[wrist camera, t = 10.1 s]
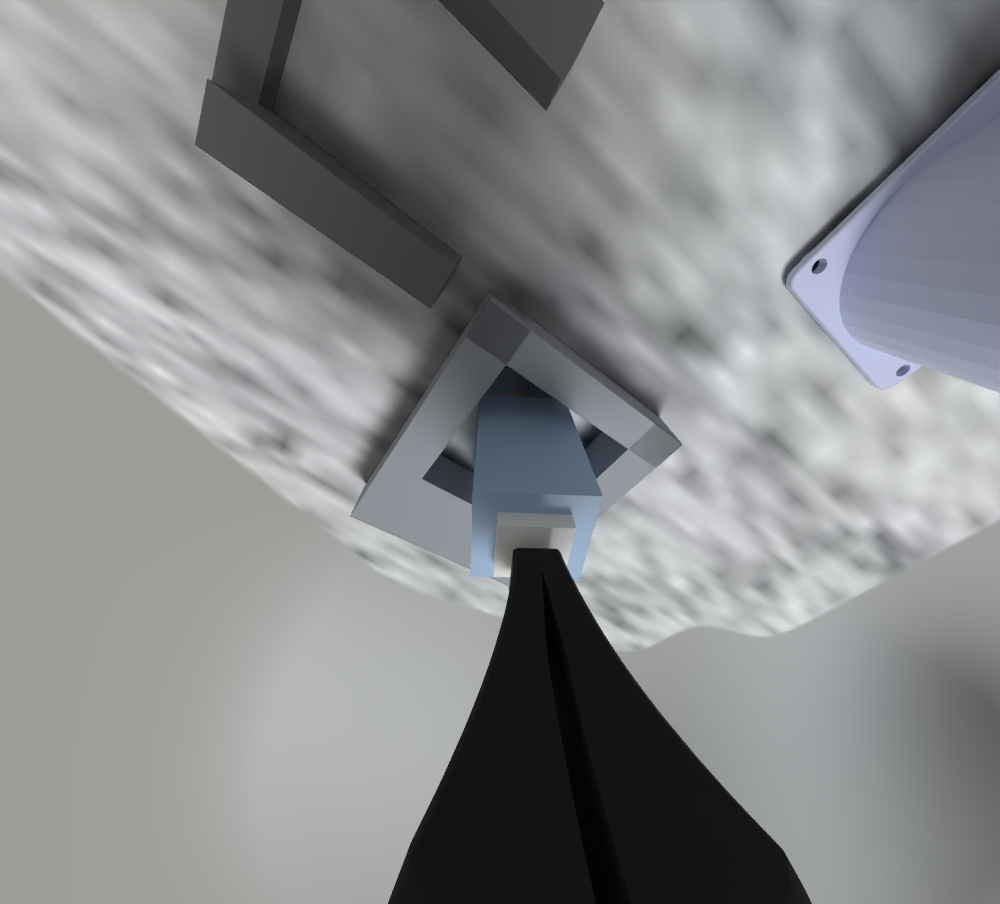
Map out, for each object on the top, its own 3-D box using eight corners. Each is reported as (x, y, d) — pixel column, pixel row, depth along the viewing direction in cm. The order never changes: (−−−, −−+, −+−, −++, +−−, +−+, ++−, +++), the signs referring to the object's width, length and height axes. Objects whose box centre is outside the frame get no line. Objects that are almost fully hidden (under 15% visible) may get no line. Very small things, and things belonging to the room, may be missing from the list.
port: (490, 288, 14) (489, 303, 11) (659, 417, 17) (687, 451, 15) (365, 484, 19) (346, 523, 17) (513, 554, 23) (515, 596, 20)
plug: (480, 395, 17) (471, 504, 10) (565, 399, 17) (608, 509, 10) (477, 464, 19) (469, 590, 12) (552, 468, 19) (582, 593, 13)
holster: (303, -259, 8) (213, -482, 5) (578, 54, 11) (604, 2, 8) (220, 132, 11) (142, 108, 9) (441, 292, 14) (430, 308, 12)
